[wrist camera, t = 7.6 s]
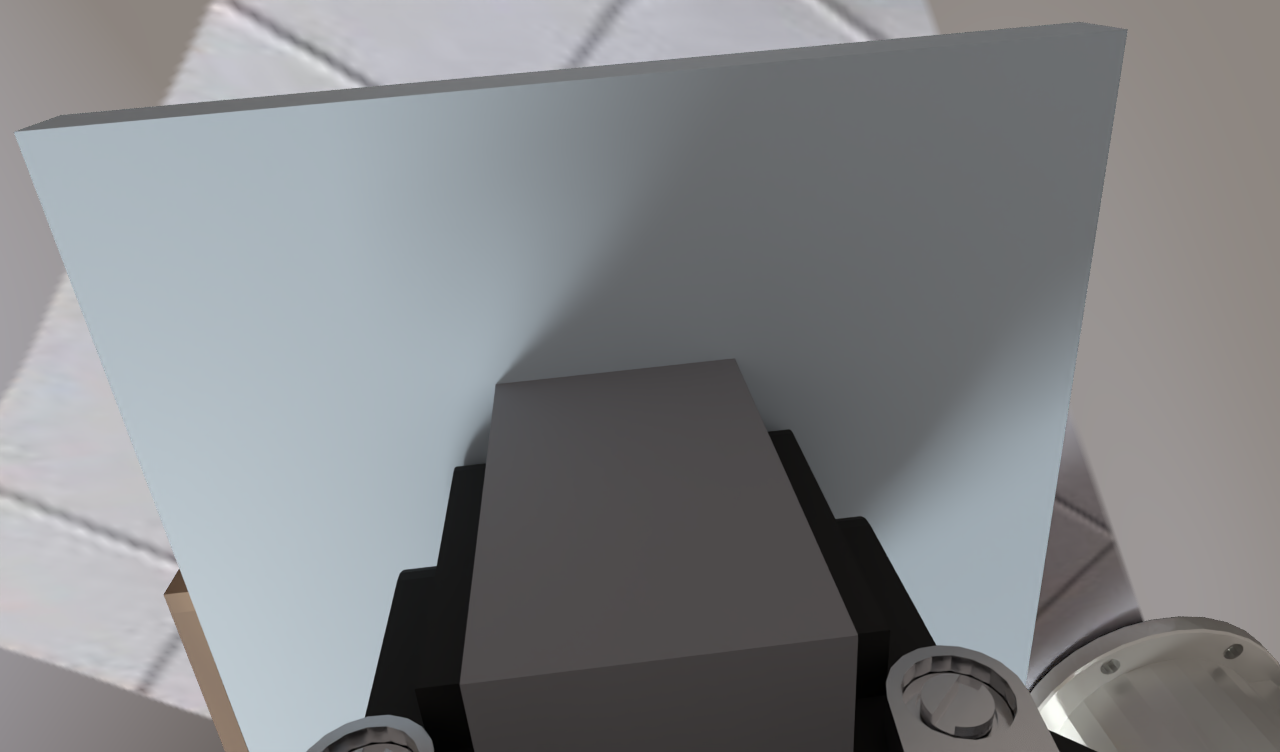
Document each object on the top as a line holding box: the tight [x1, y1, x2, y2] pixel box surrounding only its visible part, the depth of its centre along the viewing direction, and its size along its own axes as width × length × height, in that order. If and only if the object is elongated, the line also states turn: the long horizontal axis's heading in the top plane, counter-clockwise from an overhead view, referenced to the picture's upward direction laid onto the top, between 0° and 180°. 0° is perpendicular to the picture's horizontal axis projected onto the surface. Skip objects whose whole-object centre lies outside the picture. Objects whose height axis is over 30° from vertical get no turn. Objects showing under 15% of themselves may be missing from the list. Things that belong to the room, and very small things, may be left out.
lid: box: [14, 22, 1127, 752], centre depth 10 cm, size 12×12×6 cm
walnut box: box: [164, 569, 249, 752], centre depth 32 cm, size 11×11×7 cm
